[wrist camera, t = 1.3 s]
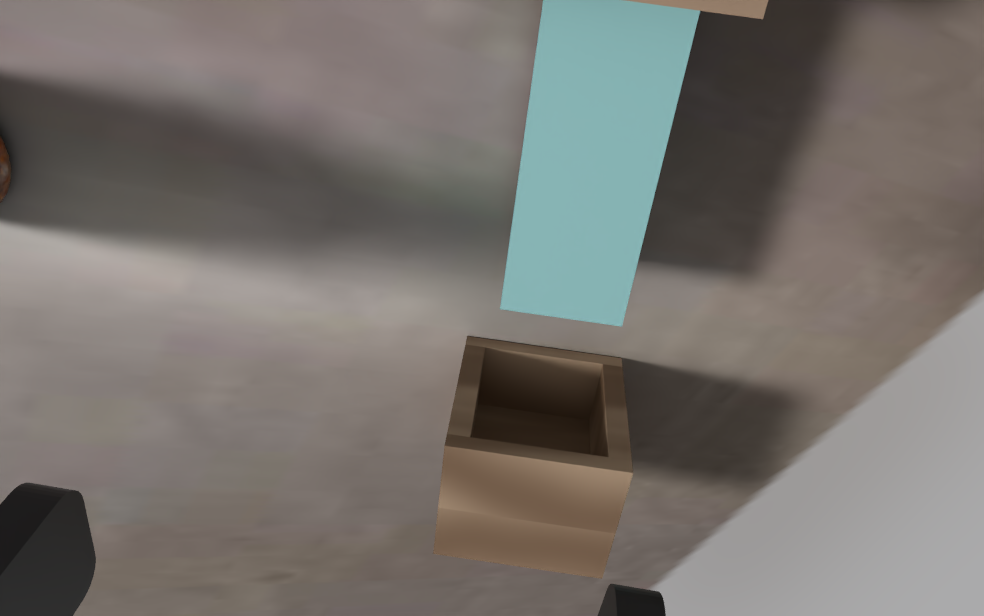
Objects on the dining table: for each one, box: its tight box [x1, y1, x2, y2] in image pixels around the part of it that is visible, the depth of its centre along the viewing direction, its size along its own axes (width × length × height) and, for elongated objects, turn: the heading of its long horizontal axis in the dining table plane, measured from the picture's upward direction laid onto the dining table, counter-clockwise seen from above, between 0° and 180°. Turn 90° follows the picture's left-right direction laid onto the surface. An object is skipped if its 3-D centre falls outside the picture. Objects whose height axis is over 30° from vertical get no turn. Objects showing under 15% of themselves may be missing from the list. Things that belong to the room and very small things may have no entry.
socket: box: [433, 336, 633, 579], centre depth 29 cm, size 6×6×7 cm
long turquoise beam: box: [500, 0, 700, 326], centre depth 21 cm, size 18×4×4 cm, turn 174°
